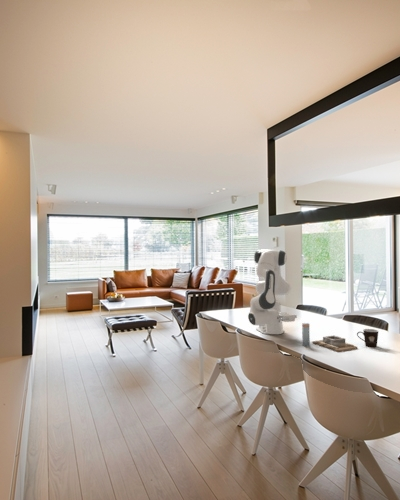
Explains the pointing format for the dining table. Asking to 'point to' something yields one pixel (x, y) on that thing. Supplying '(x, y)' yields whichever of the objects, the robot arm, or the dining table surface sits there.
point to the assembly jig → (335, 343)
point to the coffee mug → (370, 337)
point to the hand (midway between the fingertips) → (290, 315)
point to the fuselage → (305, 334)
